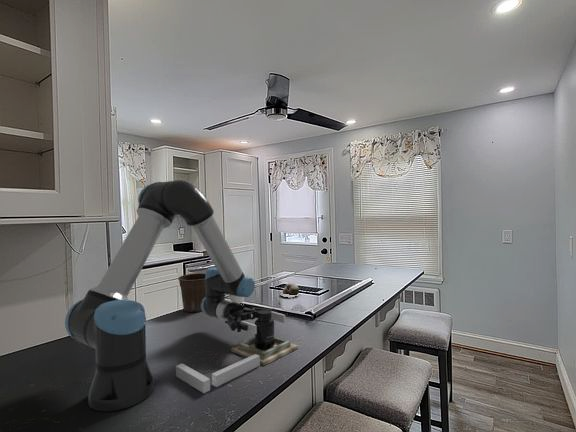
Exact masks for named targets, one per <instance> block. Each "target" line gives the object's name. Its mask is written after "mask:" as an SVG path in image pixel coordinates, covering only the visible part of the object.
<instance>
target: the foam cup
mask: <svg viewBox="0 0 576 432" xmlns="http://www.w3.org/2000/svg"><path fill="white" fill-rule="evenodd" d="M229 298H230V300H229V301H233V302H236V303H242V302H244V303H245V297H238V296H234V295H229Z"/></svg>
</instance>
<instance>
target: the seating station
mask: <svg viewBox="0 0 576 432" xmlns="http://www.w3.org/2000/svg"><path fill="white" fill-rule="evenodd" d="M297 349H299V345H298V344H295V343H292V342H291V341H289V340H288V339H285V338H281V337H278V336H275V335H274V347H273V348H271V349H269V350H266V351H262V350H260V349H257V348H255V336H254V337H252V338H250V339H247V340H244V341H242V342H240V343H239V344H238V345H237V346H234V347H231V352H233V353H235V354H238V356H239V355H240V356H241V357H244V358H248V357H250V356H252V355H254V354H256V355H259V356H260V364H261V365H263V366H266V365H269V364H270V363H272V362H273V361H276V360H278V359H279V358H282V357H284V356H286V355H288V354H290V353H291V352H294V351H296V350H297Z"/></svg>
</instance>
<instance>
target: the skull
mask: <svg viewBox="0 0 576 432" xmlns="http://www.w3.org/2000/svg"><path fill="white" fill-rule="evenodd" d="M281 293H283V294H289V295H297V294H300V288H299V286H298V285H297V283H295V282H293V281H292V282H289V283H286V285H285V286H284V288H283V289H282V291H281Z"/></svg>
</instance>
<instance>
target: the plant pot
mask: <svg viewBox="0 0 576 432" xmlns="http://www.w3.org/2000/svg"><path fill="white" fill-rule="evenodd" d="M205 274H206V272H205V273H188V274H183V275H181V276H178V277H177V280H178V281H179V287H180V292H181V300H182V307H183V309H182V310H183V312H186V313H187V312H188V313H193V312H196V313H200V312H202V310H201V303H202V300H203V299H204V298H205V297H206V285H205Z"/></svg>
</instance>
